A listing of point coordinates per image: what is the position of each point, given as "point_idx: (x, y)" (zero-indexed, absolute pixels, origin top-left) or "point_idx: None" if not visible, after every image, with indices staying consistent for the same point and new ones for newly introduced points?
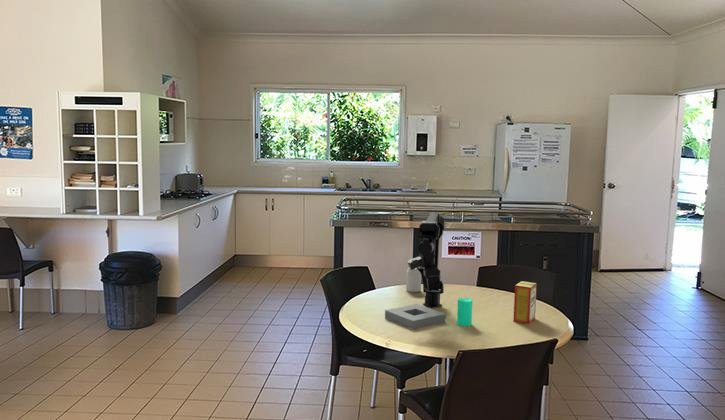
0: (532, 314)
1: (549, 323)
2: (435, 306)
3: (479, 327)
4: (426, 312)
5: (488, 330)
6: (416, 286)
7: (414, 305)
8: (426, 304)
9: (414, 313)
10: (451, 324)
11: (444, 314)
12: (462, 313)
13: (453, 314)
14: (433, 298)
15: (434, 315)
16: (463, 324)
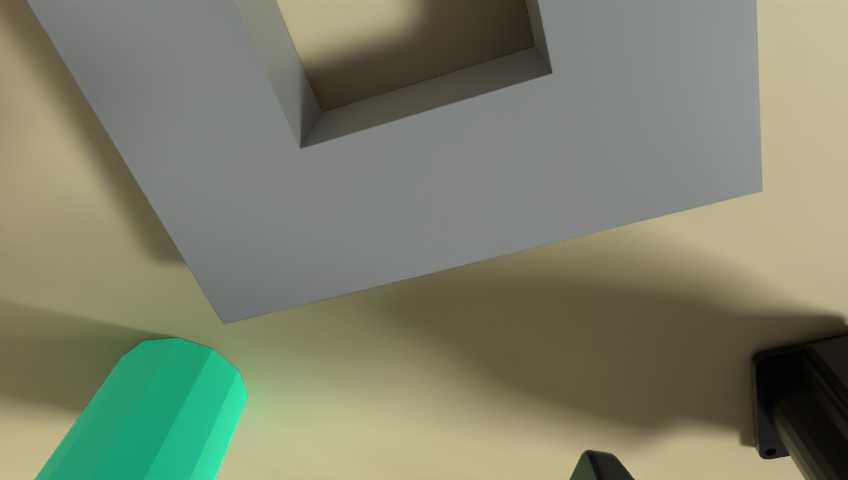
0: None
1: None
2: (754, 392)
3: None
4: (323, 140)
5: (10, 461)
6: None
7: (716, 122)
8: (845, 339)
9: (536, 30)
10: (175, 291)
11: (216, 308)
12: (62, 446)
13: (474, 424)
14: (825, 446)
15: (167, 182)
16: (113, 369)
